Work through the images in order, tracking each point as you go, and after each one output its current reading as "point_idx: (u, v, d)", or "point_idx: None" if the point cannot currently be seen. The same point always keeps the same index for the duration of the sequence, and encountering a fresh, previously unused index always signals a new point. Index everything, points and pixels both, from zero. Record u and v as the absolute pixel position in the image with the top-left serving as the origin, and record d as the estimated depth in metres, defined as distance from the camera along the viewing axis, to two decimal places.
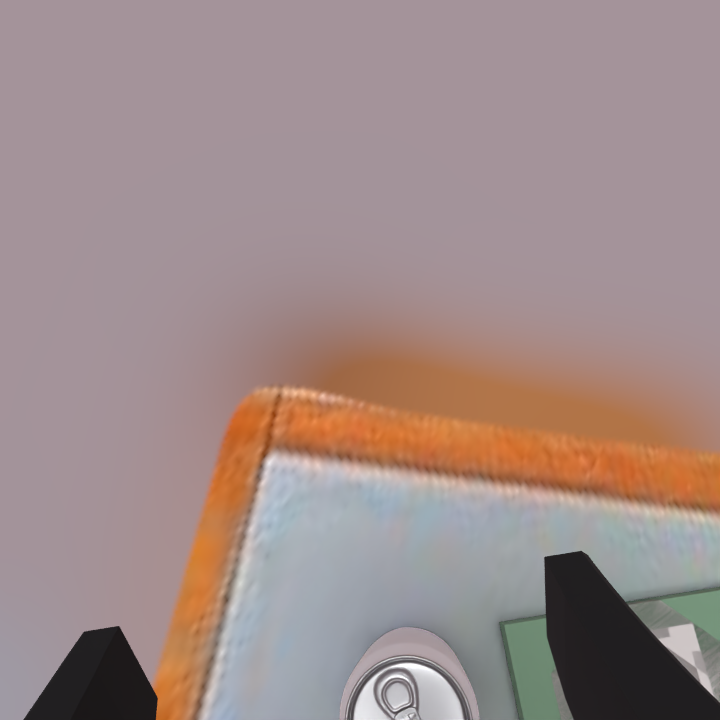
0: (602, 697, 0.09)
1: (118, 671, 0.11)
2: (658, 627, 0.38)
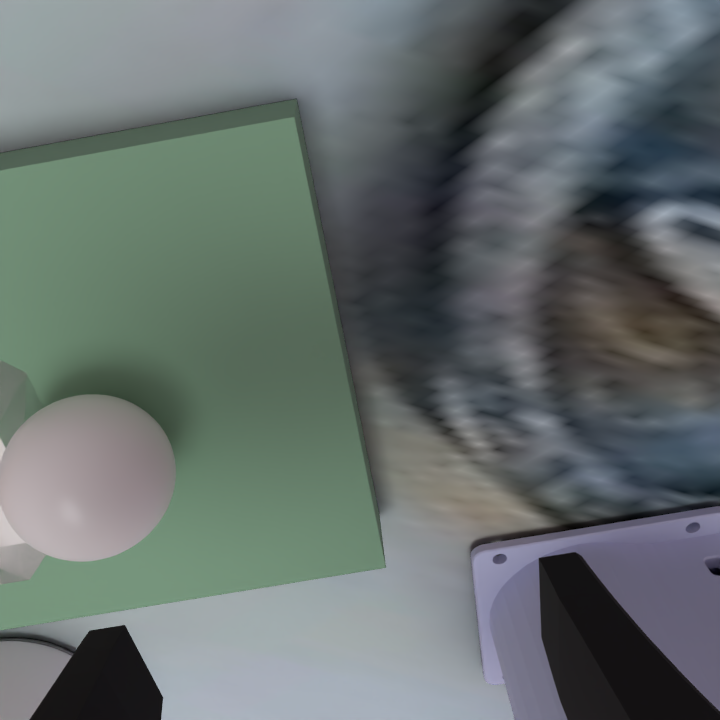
0: (595, 698, 0.09)
1: (124, 670, 0.10)
2: None
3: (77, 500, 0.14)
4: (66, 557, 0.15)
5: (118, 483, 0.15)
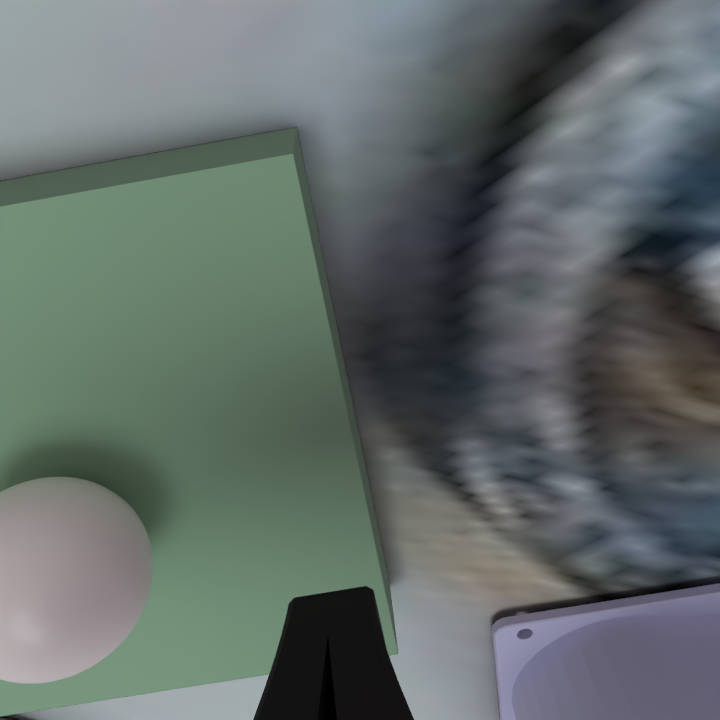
0: None
1: None
2: None
3: (28, 621, 0.12)
4: (18, 682, 0.12)
5: (79, 596, 0.12)
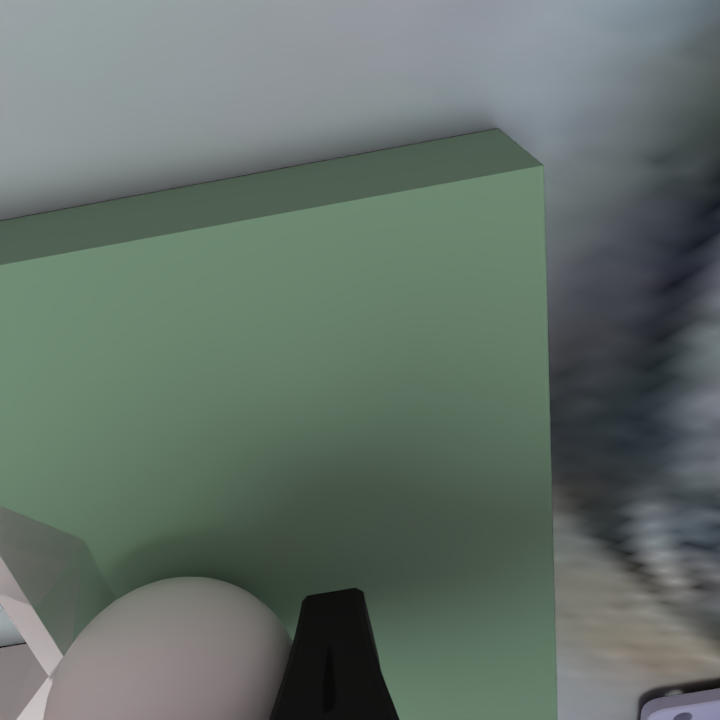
0: None
1: None
2: None
3: None
4: None
5: None
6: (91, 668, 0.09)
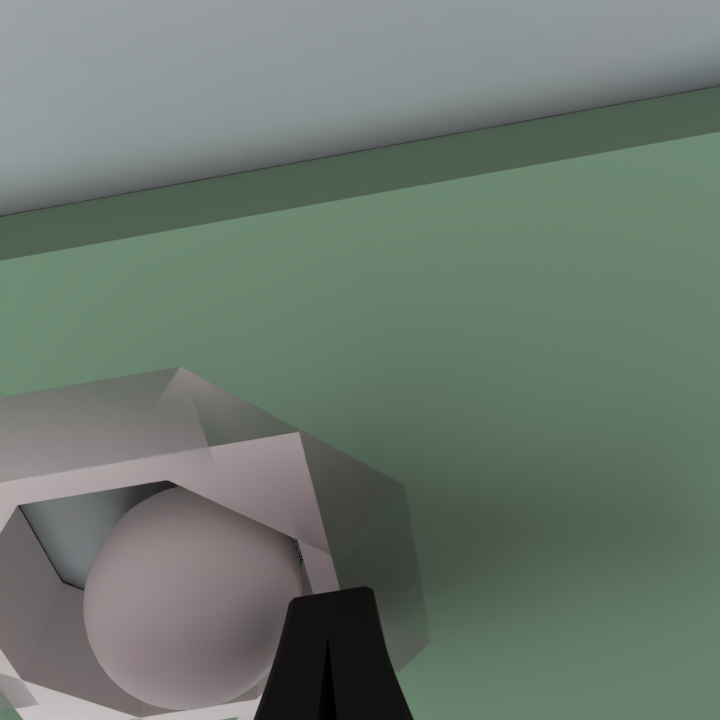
0: None
1: None
2: None
3: None
4: None
5: None
6: (210, 503, 0.12)
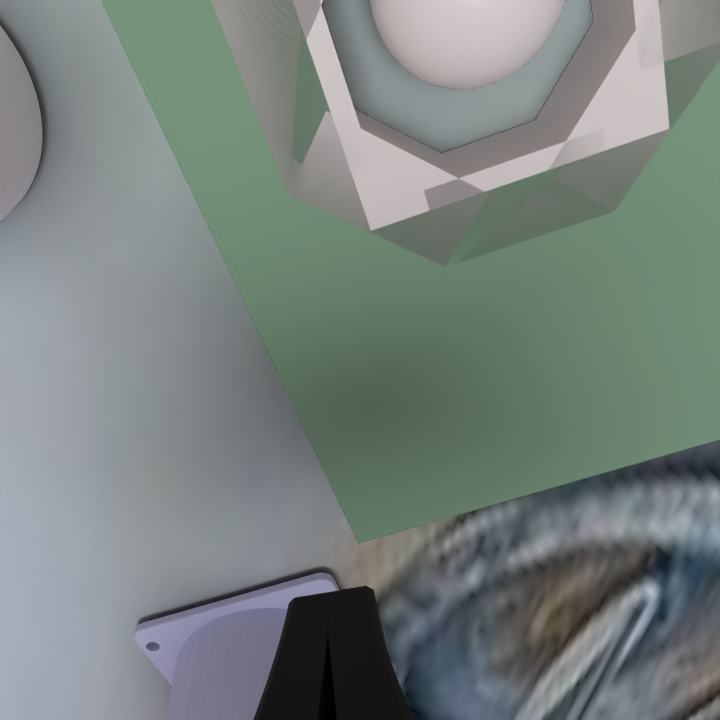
0: None
1: None
2: None
3: None
4: None
5: None
6: None
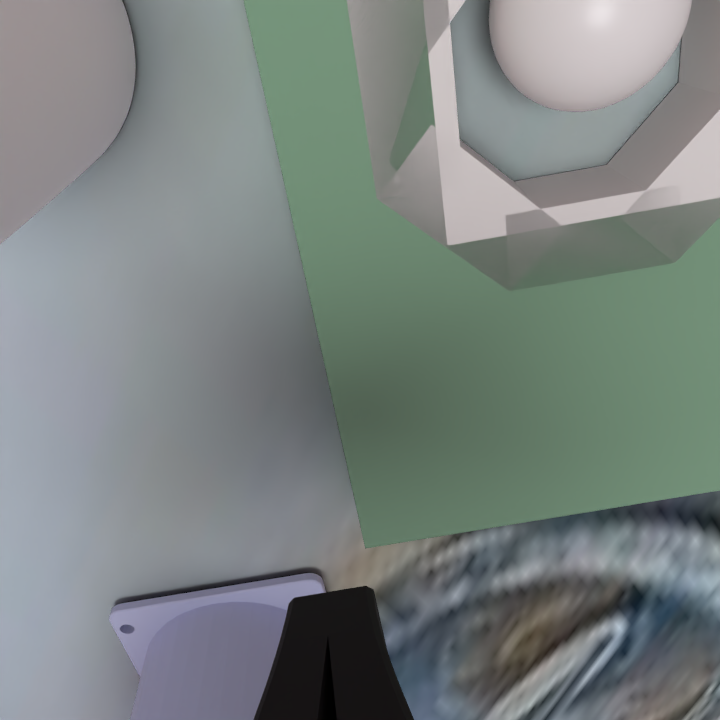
0: None
1: None
2: None
3: None
4: None
5: None
6: None
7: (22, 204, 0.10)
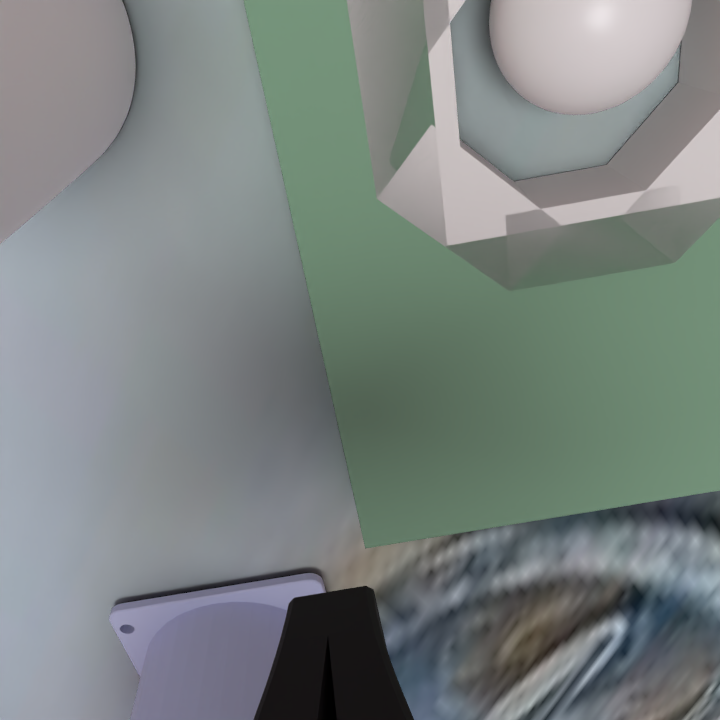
0: None
1: None
2: None
3: None
4: None
5: None
6: None
7: (22, 204, 0.10)
